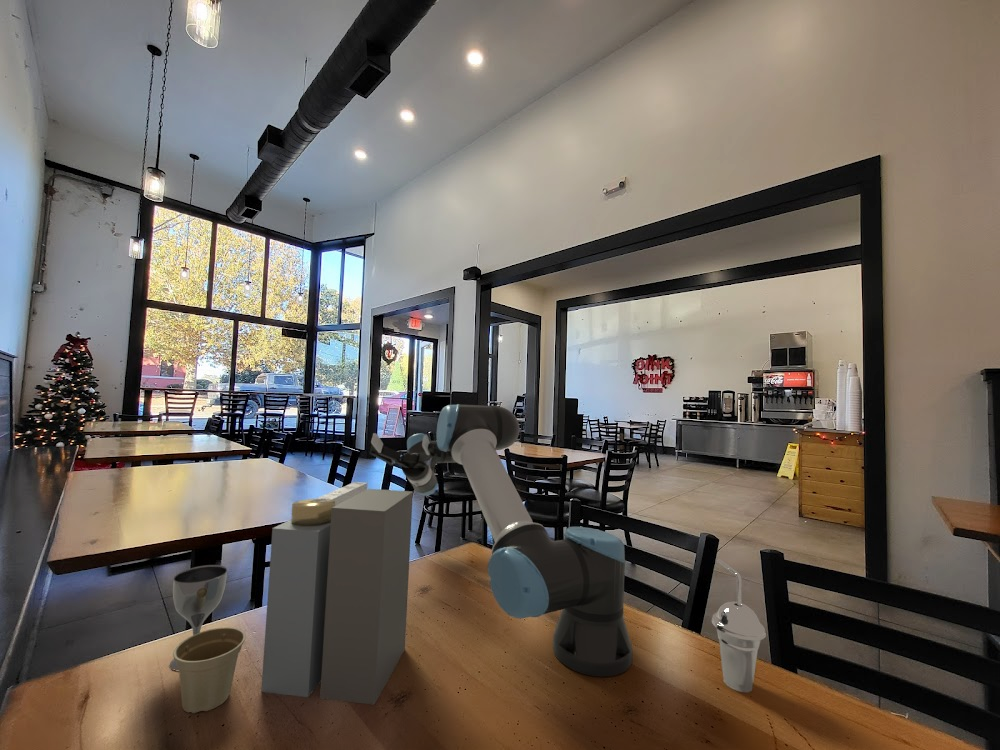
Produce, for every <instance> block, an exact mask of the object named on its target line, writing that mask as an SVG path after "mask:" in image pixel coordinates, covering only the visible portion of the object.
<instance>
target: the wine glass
mask: <svg viewBox="0 0 1000 750" xmlns="http://www.w3.org/2000/svg"><path fill="white" fill-rule="evenodd" d="M227 576H228V569H227V567H225V566H223V565H220V564H219V565H217V564H207V565H206V564H205V565H199V566H194V567H191V568H187V569H184V570H182V571H180V572H179V573H176V575H175V576H174V577H173V584H172V596H173V598H172V599H173V603H174V608H175V611H176V612H177V613H178V614H179V615H180V617H182V618H183V619H184V620H186V621H187V622H188V623H189V625H190V626H191V629H192V636H193V635H195V634H198V633H200V632H201V630H202V626H203V624H204V622H205V621H206V620H207V618H208V617H209V616H210V614H211V613H212V612H213V611H214V610H215V609H216V608H217V607H218V606H219V604H220V602H221V600H222V598H223V595H224V592H225V588H226V584H227ZM169 666H170V667H169ZM168 667H169V669H170V668H171V669H170V670H172V669H175V670H179V668H178V666H177V662H176V660H175V659H174V658H173V659H172V660H170V662H169V665H168Z"/></svg>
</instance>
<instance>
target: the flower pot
mask: <svg viewBox="0 0 1000 750" xmlns="http://www.w3.org/2000/svg"><path fill="white" fill-rule="evenodd" d="M246 637H247V636H246V633H245V632H244V631H243V630H242V629H241V628H238V627H237V628H236V627H231V626H230V627H229V626H227V627H217V628H211V629H207V630H204V631H200V633H198V634H195V635H193V634H192V635H191V636H189V637H187V638H186V639H184V640H182V642H180V643H179V644H177V645H176V646H175V648H174V650H173V653H172V657H173V659H175V660H176V662H177V666H178V668H179V671H178V672H179V673H178V674H179V683H180V692H181V693H180V694H181V705H182V709H183V711H185V712H186V713H189V712H192V713H191V714H196V713H199V712H201V711H202V712H209V711H211V710H214V709H215V708H217V707H219V706H220V705H222V704H223V703H224V702H225V701H227V699H228V698H229V696H230V694H231V692H232V686H233V682H234V675H235V671H236V666H237V661H238V656H239V654H240V652H241V650H242V647H243V645H244V643H245V641H246ZM213 708H214V709H213ZM208 710H209V711H208Z"/></svg>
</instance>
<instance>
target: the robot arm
mask: <svg viewBox="0 0 1000 750" xmlns="http://www.w3.org/2000/svg"><path fill="white" fill-rule="evenodd" d="M519 423H520V422H519V421H518V419H517V417H516V415H515V414H514V413H512V411H510V410H509V409H507V408H506V407H504V406H499V405H480V404H479V405H478V404H476V405H475V404H459V403H457V404H448V405H446V406H444V407H442V409H441V411H440V413H439V416H438V419H437V425H436V440H430V438H429V436H428V434H426V433H425V434H424V433H416V434H415V433H414V434H413V435H411V436H409V437H408V439H407V440H406V448H407V449H406V450H407V451H406V452H404V451H402V450H399V451H397V450H396V449H393V448H390V447H388V446H385V445H384V443H383V441H382V439H381V438H380V437H379V436H378V434H377V433H374V432H373V433H372V437H371V441H370V443H371V447H370V451H369V455H372V456H374V457H375V458H376V459H379V460H381V461H383V462H385V463H386V464H387V465H388V466H391V467H394V465H395V464H397V465H398V466H400V467H401V470H402V473H403V474H404V475H405V477H406V478H407V480H408V481H409V483H410V484H411V486H412V487H413V489H414V491H415V492H416V493H417V494H418V495H421V496H425V497H427V496H430V495H432V494H434V493H435V492H436V491H437V488H438V479H437V476H436V473H435V469H436V464H446V463H448V464H449V463H452V464H453V463H457V464H458V465H462V467H463V469H464V472H465V475H466V476H467V479H468V481H469V484H470V486H471V489H472V491H473V493H474V495H475V498H476V500H477V502H478V506H479V508H480V510H481V512H482V515H483V518H484V519H485V522H486V524H487V527H488V529H489V531H490V533H491V536H492V539H493V542H494V544H493V545H492V548H491V556H490V558H489V560H488V566H487V570H488V571H487V572H488V577H489V578H490V579H489V586H490V589H491V592H492V595H493V597H494V599H495V601H496V602H497V604H498V606H499V607H500V609H502V610H503V612H504V613H506V614H507V615H508V616H510V617H513V618H514V619H527V618H538V617H541V616H544V615H546V614H549V613H553V612H557V611H560V615H559V617H558V621H557V623H556V625H555V629H554V630H553V631H554V632H553V634H552V635H553V636H552V637H553V638H552V650H553V653H554V656H555V657H556V659H558V661H559V662H561V663H562V664H563V665H564V666H565V667H568V668H569V669H571V670H573V671H575V672H577V673H580V674H583V675H587V676H591V677H592V676H593V677H598V678H599V677H603V678H604V677H606V678H607V677H613V676H619V675H621V674H623V673H625V672H626V671H627V670H629V669H630V667H631V665H632V663H633V647H632V645H633V644H632V642H631V639H630V634H629V632H628V628H627V624H626V621H625V618H624V606H625V605H624V601H625V600H624V599H625V597H624V596H625V575H626V572H625V571H626V563H627V562H626V559H625V544H624V543H623V541H622V539H620V538H619V537H618V536H616V535H615V534H612V533H610V532H607V531H604V530H600V529H596V528H592V527H584V526H583V527H582V526H569V527H567V528H566V530H565V531H564V534H563V536H564V539H558V540H552V539H551V537H550V535H549V533H548V531H547V530H546V528H545V526H543V524H541V523H538V522H533V519H532V517H531V516H530V513H529V511H528V510H527V508H526V506H525V504H524V502H523V499H522V498H521V496H520V494H519V492H518V491H517V488H516V487H515V485H514V483H513V481H512V479H511V477H510V475H509V472H508V471H507V470H506V467H505V465H504V463H503V461H502V459H501V457H500V456H499V454H498V452H497V451H500V450H504V449H507V448H509V447H511V446H513V445H514V444H515V442H517V440H518V437H519V435H520V424H519Z"/></svg>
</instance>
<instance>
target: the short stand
mask: <svg viewBox="0 0 1000 750" xmlns="http://www.w3.org/2000/svg"><path fill="white" fill-rule="evenodd" d="M330 528H331V523H328V524H324V525H319V526H297V525H293V524H292V523H291V519H289V520H287V521H285V522H283V523H281V524H278V525H277V526H274V527H272V528H271V529H272V531H271V545H270V546H271V547H270V558H269V559H270V560H269V572H268V573H269V574H268V589H267V602H266V603H267V604H266V616H265V617H266V618H265V619H266V621H265V631H264V646H263V660H262V662H263V663H262V672H261V674H262V676H261V677H262V678H261V688H260V689H261V693H268V694H277V695H286V696H288V695H289V696H295V697H304V698H308V697H310V696H311V694H312V693H313V692H314V690H315V689H317V687H318V686H319V684H321V674H322V658H323V642H324V625H325V609H326V593H327V577H328V561H329V544H330ZM312 691H313V692H312Z"/></svg>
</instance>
